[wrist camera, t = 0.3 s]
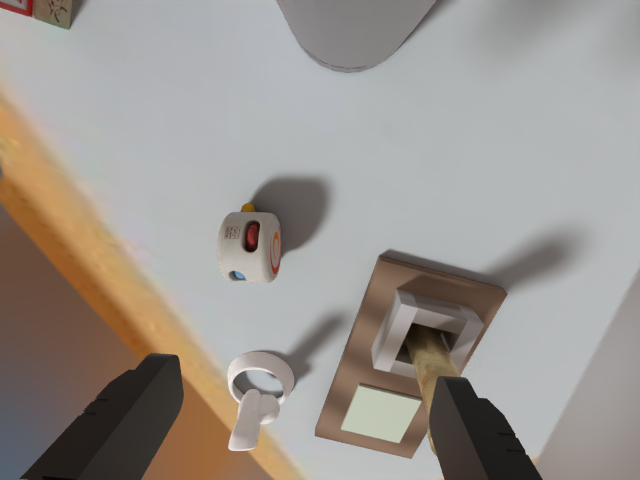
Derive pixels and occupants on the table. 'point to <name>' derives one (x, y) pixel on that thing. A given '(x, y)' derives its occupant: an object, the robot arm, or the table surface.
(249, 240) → the roller toy
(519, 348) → the table surface
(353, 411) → the sage pad
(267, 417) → the white vr controller
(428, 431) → the brass peg
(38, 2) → the stack of blocks
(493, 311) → the walnut board
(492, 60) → the table surface
